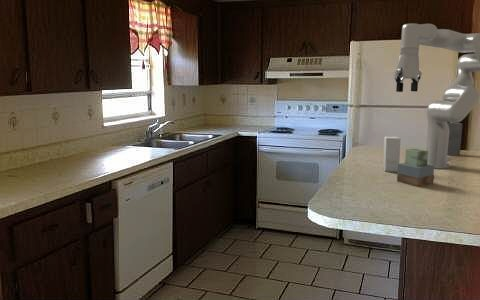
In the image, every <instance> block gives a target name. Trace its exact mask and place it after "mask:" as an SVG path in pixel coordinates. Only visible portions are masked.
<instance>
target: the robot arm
mask: <svg viewBox="0 0 480 300" xmlns="http://www.w3.org/2000/svg"><path fill="white" fill-rule="evenodd" d="M400 40H401V42H400V55H399V56H398V60H397V64H396V70H395V71H394V72H393V76H394V80H395V83H396V85H395V86H396V87H395V89H396V90H395V92H396V93H397V92H398V93H403V92H404V81H405V79H411V83H410V91H411V92H418V87H419V86H418V85H419V83H420V80H421V77H422V74H423V72H421V71H420V57H419V51H420V46H426V47H432V48H438V49H445V50H449V51H452V52H457V53H467V54H463V55H461V56H460V57H459V58H458V59H457V62H456V68H457V76H456V78H455V80H453V82H452V83H451V84H450V85H449V86H448V87H447V89H446V90H445V91H444V93H443V94H442V100H435V101H431V102H430V103H429V104H428V106H427V107H426V117H427V134H426V147H425V150H427V151H428V161H427V164H430V165H434V169H440V170H445V169H449V168H451V164H450V163H448V162H451V161H452V160H453V158H452V157H451V156H449V157H448V155H447V152H448V141H449V127H448V124H447V122H450V123H461V122H462V121H463V120H465V118H466V117H467V116H468V115H469V113H470V112H471V111H472V110H473V108H475V106H476V105H477V104H478V102H479V99H480V98H479V97H480V93H479V90H478V89H477V88H476V87H475V86H474V85H475V79H474V77H473V72H474V73H480V33H479V32H478V33H477V32H475V33H463V32H462V33H461V32H458V31H455V30H453V29H452V30H451V29H448V28H447V29H445V28H440V29H439V28H438V27H437V26H436V25H435V24H434V23H433V24H432V23H422V24H420V23H419V24H418V23H405V24H403V25H402V27H401V38H400Z"/></svg>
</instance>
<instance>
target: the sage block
mask: <svg viewBox="0 0 480 300" xmlns="http://www.w3.org/2000/svg"><path fill="white" fill-rule="evenodd" d="M404 160H405V161H404V163H405V164H408V165H412V166H416V167H417V166H425V165H427V161H428V151H427V150H426V149H421V148H407V149H405V159H404Z"/></svg>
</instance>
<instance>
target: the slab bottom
mask: <svg viewBox="0 0 480 300" xmlns="http://www.w3.org/2000/svg"><path fill="white" fill-rule="evenodd" d="M396 174H397V175H396V177H397V178H396V182H398V183H401V184H405V185H408V186H412V187H416V188H418V187H423V186H429V185H434V180H435V175H431V176H426V177H421V178H416V177H412V176H407V175H403V174H398V173H397V172H396Z"/></svg>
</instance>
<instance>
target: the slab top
mask: <svg viewBox="0 0 480 300" xmlns="http://www.w3.org/2000/svg"><path fill="white" fill-rule="evenodd" d="M434 172H435V168H434V165H430V164H427V165H425V166H417V167H416V166H412V165H408V164H405V162H401V163H400V162H399V164H398V170H397V172H396V174H397V173H398V174H403V175H407V176H412V177H416V178H421V177H426V176H431V175H434V174H435V173H434ZM434 176H435V175H434Z"/></svg>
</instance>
